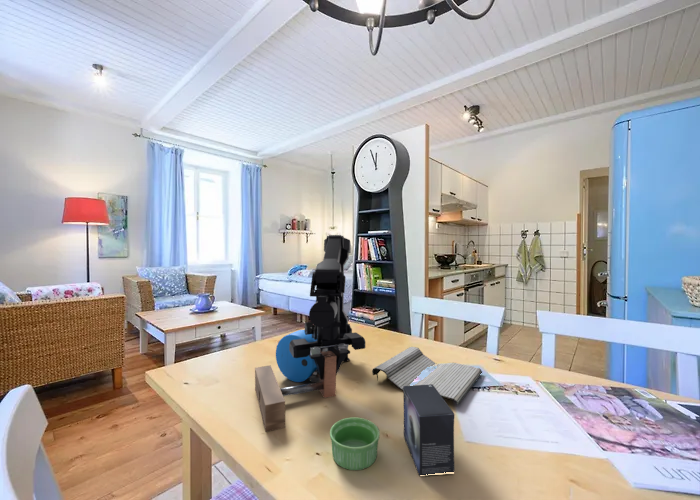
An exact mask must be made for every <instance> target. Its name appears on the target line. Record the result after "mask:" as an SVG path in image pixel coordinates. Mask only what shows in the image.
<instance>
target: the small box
mask: <svg viewBox="0 0 700 500" xmlns="http://www.w3.org/2000/svg"><path fill="white" fill-rule="evenodd" d="M402 391H403V393H402V394H403V438H404V440H405V443H406V445H407V448H408V451H409V454H410V456H411V459H412V461H413V464H414V466H415V469H416V468H417V469H416V471H418V472H417V474H418V473H419V474H418V476H419V475H426V474H427V475H428V474H435V473H444V472H445V473H446V472H454V471H455V413H454V411H453V410H452V409H451V407H450V406H449V405H448V403H447V402H446V400H445V398H444V397H442V396H441V395H440V394H439V392H438V391H437V390H436V388H435V387H434V386H433V384H430V385H413V386H403V390H402Z"/></svg>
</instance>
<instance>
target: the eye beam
mask: <svg viewBox="0 0 700 500" xmlns="http://www.w3.org/2000/svg"><path fill="white" fill-rule="evenodd" d="M280 388H281V387H280V385H279V383H278V381H277V378H276V375H275V373H274V370H273V367H272V366H271V365H265V366H258V367H257V366H256V367H254V389H255V393H256V398H257V402H258V406H259V407H258V408H259V410H260V415H261V418H262V419H261V420H262V424H263V427H264V431H265V433H268V432H271V431H276V430H281V429H284V428H286V400H285V398H284V397H285V396H283V395H282V392H281V390H280Z"/></svg>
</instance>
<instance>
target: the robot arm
mask: <svg viewBox="0 0 700 500" xmlns="http://www.w3.org/2000/svg"><path fill="white" fill-rule="evenodd" d="M351 247H352V245H351V240H350V239H349V238H347V237H344V235H342V234H328V235H326V238H325V239H324V240H323V252H324V256H323V259H322V261H320V262H318V263H317V264H316V267H315V270H314V271H312V275H311V283H310V290H309V296H310V297H316V298H315V302H314V304H313V305H312V306H311V307H310V309H309V313H308V315H309V319H310V321H309V322H304V330H305V335H309V334H312V338H314V339H315V340H316V339H317V341H316V342H308V341H307V340H306V339H305V338H304V339H296V340H291V342H290V344H289V351H290V353H291V354H292V356H293V358H301V357H307V356H308V355H309V357H310V358H311V359H314V361H315V364H316V367H317V370H318V373H319V376H320V378H321V380H322V379H323V355H322V354H321V353H320V349H324V348H327V351H332V352H333V353H334V354H335V355H336V376H337V375H338V373H339V370H340V368H341V365H342V364H343V363H344V362H345V363H346V362H350V361H351V359H350V358H349V354H351V350H350V349H349V346H351V347H352V348H353V349H354V351H355V350H356V351H357V350H363V349H366V340H365V338H364V337H363V335H361V334H359V333H358V332H353V328H352V327H351V325H350V323H349V318H348V315H347V314H346V312H345V311H344V294H345V293H346V280H347V278H346V276H345V265H346V264H347V262H348V260H349V257H350V256H349V255H350V254H351V251H352V250H351V249H352V248H351Z"/></svg>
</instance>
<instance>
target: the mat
mask: <svg viewBox="0 0 700 500" xmlns="http://www.w3.org/2000/svg"><path fill="white" fill-rule="evenodd" d="M436 364H437V368H436V369H435V370H434V371H433V372H431V373H430V374H429V375H428V376H427V377H425V378H424V379H423V380H421V381H419V382H418V383H417V384H415V385H430V384H433V386H434V387H435V388H436V390H437V391H438V392H439V394H440V395H441V396H442V398H443V399H448V400H451V401H455V403H456V404H457V405H459V404H461V402H462V400H463V399H464V398H465V397H466V396H467V394H468V393H469V391H470V390H471V389H472V387H474V385H473V384H474V383H476V382H477V381H478V380H479V378H480V377H481V376H480V374H481V373H482V372H483V371H482V369H481V368H479V367H475V366H470V365H467V364H461V363H457V362H447V363H445V362H443V363H437V362H435V361H433V360H432V359H431V358H429V357H428V356H427V355H425V354H424V353H423V352H422V350H421V349H420V348H419V347H416V346H409V347H408V348H406V349H405V350H402V351H401V352H399V353H397V354H396V355H394V356H393V357H391V358H389V359H388V360H385V361H384V362H382V363H380V364H378V365H377V366H375V367H373V368H372V371H371V372H372V373H371V374H372V376H376V381H377V382H379V373H380V372H383V373H384V374H385V376H386V377H387V379H388V380H390V382H391V383H392V384H394V385H395V386H396V387H397V388H398V389H401V390H402V391H403V386H410V384H411V383H412V382H413V381H414V379H416V378H417V376H419V375H420V374H421V372H422V371H423V370H425V369H426V368H427V367H430V366H433V365H434V366H436ZM434 366H433V367H434ZM482 374H483V373H482ZM479 376H480V377H479ZM478 377H479V378H478ZM477 379H478V380H477ZM476 380H477V381H476Z"/></svg>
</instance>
